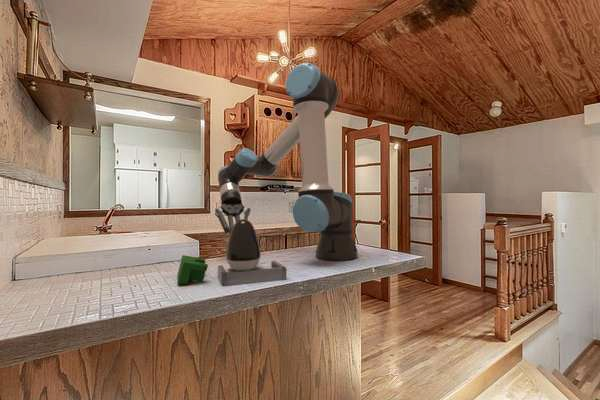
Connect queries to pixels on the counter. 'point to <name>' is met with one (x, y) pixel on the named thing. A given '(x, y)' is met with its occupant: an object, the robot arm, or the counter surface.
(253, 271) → the bracket
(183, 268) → the green stepped block
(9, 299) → the counter surface
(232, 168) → the robot arm
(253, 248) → the dark rounded piece
